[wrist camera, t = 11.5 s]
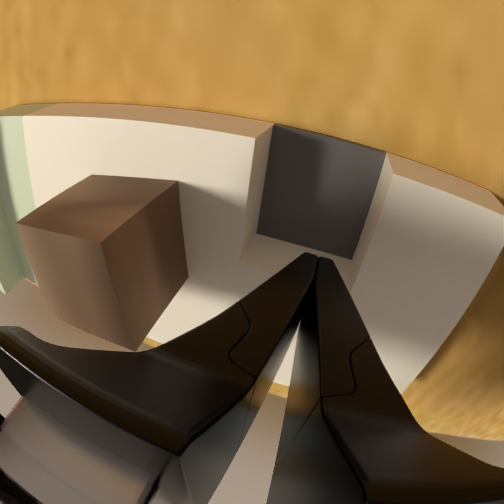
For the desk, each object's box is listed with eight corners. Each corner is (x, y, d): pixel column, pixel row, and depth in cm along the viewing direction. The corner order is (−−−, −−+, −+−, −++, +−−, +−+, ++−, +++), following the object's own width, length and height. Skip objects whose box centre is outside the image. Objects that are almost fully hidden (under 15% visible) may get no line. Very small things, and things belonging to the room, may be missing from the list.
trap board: (490, 190, 9) (541, 256, 6) (388, 371, 16) (384, 443, 12) (16, 105, 13) (-45, 129, 10) (42, 255, 20) (1, 291, 16)
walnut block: (178, 180, 10) (100, 242, 7) (188, 277, 12) (135, 351, 9) (91, 174, 11) (15, 222, 8) (110, 258, 13) (53, 316, 10)
